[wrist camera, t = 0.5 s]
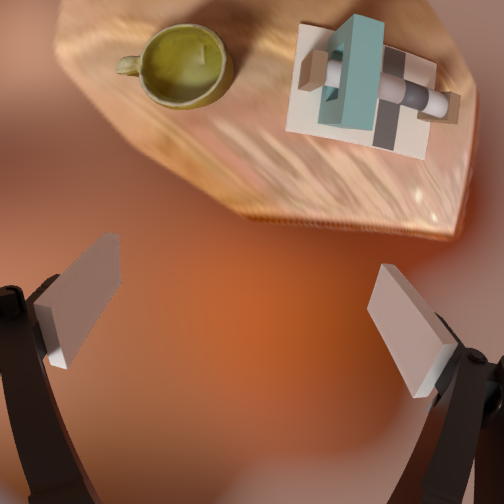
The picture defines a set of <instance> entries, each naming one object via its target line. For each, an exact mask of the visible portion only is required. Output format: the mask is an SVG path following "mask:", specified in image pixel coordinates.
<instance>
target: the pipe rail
mask: <svg viewBox="0 0 504 504" xmlns="http://www.w3.org/2000/svg"><path fill="white" fill-rule="evenodd" d="M334 32H335V31H334V30H329V29H325V28H320V27H315V26H310V25H305V24H299V27H298V35H297V43H296V51H295V58H294V66H293V74H292V81H291V89H290V96H289V103H288V111H287V118H286V125H285V131H289V132H296V133H302V134H308V135H314V136H319V137H325V138H330V139H335V140H340V141H345V142H350V143H355V144H359V145H364V146H368V147H373V148H377V149H381V150H385V151H390V152H394V153H397V154H401V155H405V156H409V157H413V158H416V159H420V160H423V161H424V159H425V154H426V148H427V142H428V136H429V130H430V123H431V122H436V123H448V124H457V123H458V116H459V107H460V98H461V96H460V95H458V94H456V93H453V92H451V91H450V92H438V91H435V80H436V68H437V64H435V63H433V62H431V61H428V60H426V59H423V58H421V57H418V56H415V55H413V54H410V53H407V52H405V51H402V50H399V49H396V48H393V47H390V46H387V45H384V44H383V49H382V60H381V70H380V79H379V87H378V95H377V103H376V110H375V117H374V124H373V130H372V131H368V130H357V129H344V128H338V127H333V126H328V125H322V124H317V123H318V116H319V109H320V102H321V94H322V87H323V85H325V86H330V87H335V88H339V83H340V75H341V67H342V61H338V60H334V59H329V58H328V52H327V47H328V38H329V37H330V36H331V35H332V34H333V33H334Z"/></svg>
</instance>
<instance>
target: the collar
mask: <svg viewBox="0 0 504 504" xmlns="http://www.w3.org/2000/svg"><path fill="white" fill-rule="evenodd" d="M383 37H384V22H381V21H378V20H375V19H371V18H368V17H365V16H361V15H358V14H353V15H352V16H351V17H350V18H349V19H348V20H347V21H346V22H345V23H344V24H343V25H342V26H341V27H340V28H338V29H337V30H336V31H335V32H334V33H333V34H332V35H331V36H330V37H329V38H328V47H327V52H328V58H329V59H334V60H338V61H342V67H341V75H340V83H339V88H335V87H330V86H325V85H323V87H322V94H321V102H320V109H319V116H318V123H317V124H322V125H328V126H333V127H338V128H344V129H357V130H368V131H372V130H373V124H374V117H375V110H376V103H377V95H378V87H379V79H380V70H381V60H382V49H383Z"/></svg>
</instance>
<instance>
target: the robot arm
mask: <svg viewBox="0 0 504 504" xmlns="http://www.w3.org/2000/svg"><path fill="white" fill-rule="evenodd" d="M120 270H121V269H120V248H119V234H114V233H106V232H105V233H104V234H103V235H102V236H101V237H100V238H99V239H97V241H96V242H94V243H93V244H92V245H91V246H90V247H89V248H88V249H87V250H86V251H85V252H84V253H83V254H81V255H80V256H79V258H77V259H76V260H75V261H74V262H73V263H72V264H71V265H70V266H69V267H68V268H67V269H66V270H65V271H64V272H63V273H62V274H61V275H60V274H56V275H54V276H52V277H50V278H48V279H47V280H46V281H44V283H42V284H41V287H39V288H37V290H36V292H33V294H32V295H31V296H30V297H29V298H28V299H27V300H26V301H25V299H24V295H23V291H22V289H21V288H20V287H18V286H14V285H9V286H4V287H1V288H0V374H1V376H2V383H3V389H4V395H5V400H6V405H7V410H8V415H9V419H10V424H11V428H12V432H13V436H14V440H15V444H16V447H17V451H18V454H19V458H20V461H21V464H22V467H23V470H24V474H25V476H26V479H27V482H28V485H29V488H30V491H31V495H30V496H29V497H28V501H29V504H103V502H102V501H101V499H100V497H99V495H98V493H97V492H96V490H95V488H94V486H93V484H92V482H91V481H90V479H89V477H88V475H87V473H86V471H85V469H84V467H83V465H82V463H81V460H80V459H79V456H78V454H77V452H76V450H75V448H74V445H73V443H72V441H71V438H70V436H69V434H68V431H67V429H66V426H65V424H64V421H63V419H62V416H61V414H60V411H59V408H58V406H57V403H56V400H55V397H54V394H53V391H52V389H51V386H50V382H49V379H48V376H47V373H46V370H45V366H44V363H43V358H44V357H45V355H46V354H47V355H48V358H49V361H50V364H51V365H53V366H57V367H61V368H64V369H68V368H69V366H70V364H71V362H72V361H73V359H74V357H75V356H76V354H77V352H78V351H79V349H80V347H81V345H82V344H83V342H84V341H85V339H86V338H87V336H88V334H89V333H90V331H91V330H92V328H93V326H94V325H95V323H96V321H97V320H98V318H99V317H100V315H101V314H102V312H103V311H104V309H105V308H106V306H107V304H108V303H109V301H110V300H111V298H112V297H113V295H114V294H115V292H116V291H117V289H118V288H119V286H120V285H121V271H120ZM367 310H368V312H369V313H370V315H371V317H372V319H373V321H374V323H375V325H376V326H377V328H378V330H379V332H380V334H381V335H382V338H383V340H384V341H385V343H386V345H387V347H388V349H389V351H390V353H391V355H392V357H393V359H394V361H395V363H396V365H397V367H398V369H399V371H400V373H401V375H402V377H403V378H404V381H405V383H406V385H407V387H408V389H409V391H410V393H411V395H412V397H413V398H419V397H427V396H428V395H429V394H430V392H431V390H432V389H433V387H434V386H435V387H436V389H437V391H438V393H437V395H436V396H435V398H434V399H433V401H432V402H431V404H430V406H429V407H428V408H427V410H426V411H427V412H428V411H429V410H430V411H429V414H428V416H427V419H426V422H425V424H424V427H423V430H422V432H421V434H420V436H419V439H418V441H417V444H416V446H415V448H414V451H413V453H412V455H411V457H410V459H409V461H408V463H407V466H406V468H405V470H404V472H403V474H402V476H401V478H400V480H399V482H398V484H397V486H396V488H395V490H394V491H393V493H392V495H391V497H390V499H389V500H388V502H387V504H462V499H463V496H464V493H465V490H466V486H467V483H468V479H469V475H470V472H471V468H472V464H473V460H474V459H475V480H474V504H504V356H502V357H501V359H500V361H499V362H498V364H494V363H489V362H488V360H487V358H486V357H485V355H484V354H483V353H481V352H480V351H478V350H476V349H473V348H466V347H465V346H464V345H463V344H462V342H461V341H460V340H459V338H458V337H457V336H456V335H455V333H454V332H453V331H452V329H451V328H450V327H448V324H447V323H446V322H445V320H443V318H442V317H440V316H439V315H438V314H436V313H435V312H433V311H432V309H431V308H430V307H429V306H428V305H427V303H426V302H425V301H424V299H423V298H422V297H421V296H420V295H419V293H418V292H417V291H416V290H415V289H414V287H413V286H412V285H411V284H410V283H409V281H408V280H407V279H406V278H405V277H404V276H403V274H402V273H401V272H400V271H399V270H398V269H397V267H396V266H395V265H391V264H381V267H380V271H379V274H378V277H377V280H376V283H375V287H374V290H373V293H372V296H371V299H370V302H369V305H368V308H367ZM500 405H501V407H500V409H499V406H500Z"/></svg>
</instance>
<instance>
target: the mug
mask: <svg viewBox="0 0 504 504" xmlns="http://www.w3.org/2000/svg"><path fill="white" fill-rule="evenodd" d="M116 73H117V74H121V75H128V76H136V77H139V79H140V83H141V86H142V88H143V90H144V91H145V93H146V94H147V95H148V96H149V97H150V98H151V99H152V100H153V101H155V102H156V103H157V104H159V105H162V106H164V107H166V108H170V109H174V110H188V109H194V108H199V107H203V106H207V105H209V104H211V103H214V102H215V101H217V100H218V99H220V98H221V97H222V96H223V95H224V94H225V93H226V92H227V90H228V89H229V87H230V85H231V83H232V81H233V78H234V62H233V59H232V56H231V54H230V53H229V51H228V49H227V47H226V44H225V42H224V41H223V39H222V38H221V37H220V36H219V35H218V34H217V33H216V32H215V31H213V30H212V29H209V28H207V27H205V26H203V25H199V24H194V23H183V24H176V25H172V26H169V27H167V28H165V29H163V30H161V31H160V32H158V33H157V34H155V35H154V36H153V37H152V38H151V39H150V40H149V41H148V43H147V44H146V46H145V48H144V50H143V53H142V55H141V56H127V57H123V58H122V59H120V61H119V63H118V66H117V69H116Z"/></svg>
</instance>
